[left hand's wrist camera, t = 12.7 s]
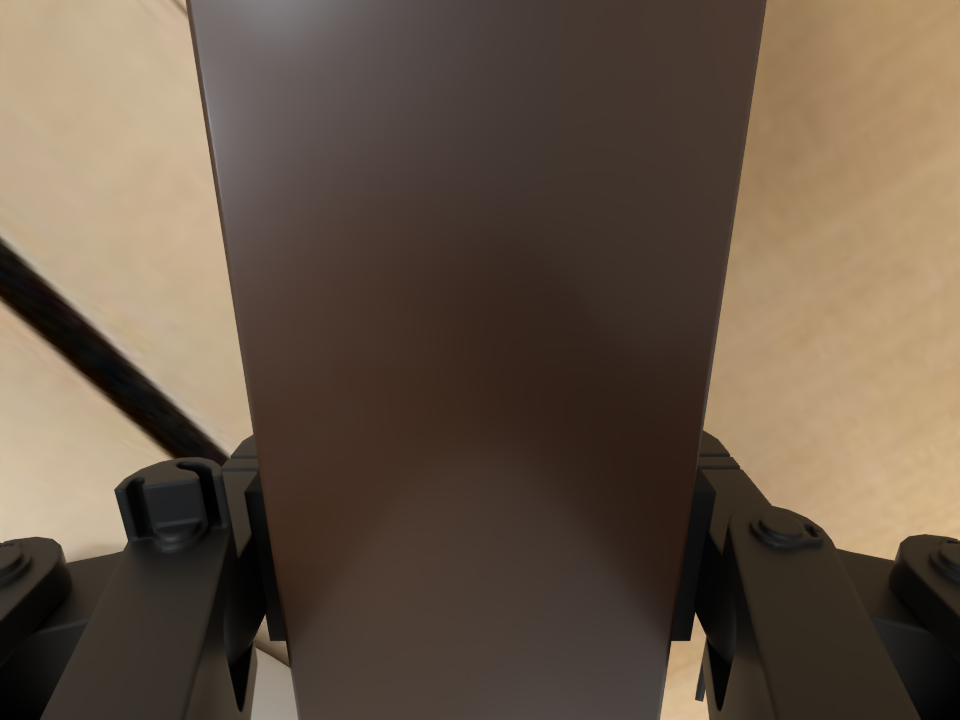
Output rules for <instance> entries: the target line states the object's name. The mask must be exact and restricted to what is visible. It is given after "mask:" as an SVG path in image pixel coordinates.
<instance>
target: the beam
mask: <svg viewBox="0 0 960 720" xmlns="http://www.w3.org/2000/svg"><path fill="white" fill-rule="evenodd" d="M766 1H767V0H186V5H187V12H188V18H189V25H190V31H191V37H192V44H193V50H194V56H195V63H196V69H197V76H198V82H199V88H200V95H201V101H202V108H203V114H204V120H205V127H206V133H207V140H208V146H209V152H210V159H211V165H212V172H213V178H214V184H215V191H216V197H217V203H218V210H219V216H220V223H221V229H222V235H223V242H224V248H225V255H226V261H227V267H228V274H229V280H230V287H231V293H232V299H233V306H234V312H235V319H236V325H237V331H238V338H239V344H240V350H241V357H242V363H243V370H244V376H245V382H246V389H247V395H248V402H249V408H250V414H251V421H252V427H253V434H254V440H255V446H256V453H257V459H258V466H259V472H260V478H261V485H262V491H263V497H264V504H265V510H266V517H267V523H268V529H269V536H270V542H271V549H272V555H273V561H274V568H275V574H276V581H277V587H278V593H279V600H280V606H281V613H282V619H283V625H284V632H285V638H286V644H287V651H288V657H289V664H290V670H291V676H292V683H293V689H294V696H295V702H296V708H297V715H298V720H660V714H661V708H662V701H663V694H664V687H665V681H666V674H667V667H668V661H669V654H670V647H671V640H672V634H673V627H674V620H675V613H676V607H677V600H678V593H679V587H680V580H681V573H682V566H683V560H684V553H685V546H686V539H687V533H688V526H689V519H690V513H691V506H692V499H693V492H694V486H695V479H696V472H697V465H698V459H699V452H700V445H701V438H702V432H703V425H704V418H705V412H706V405H707V398H708V391H709V385H710V378H711V371H712V364H713V358H714V351H715V344H716V338H717V331H718V324H719V317H720V311H721V304H722V297H723V290H724V284H725V277H726V270H727V264H728V257H729V250H730V243H731V237H732V230H733V223H734V216H735V210H736V203H737V196H738V190H739V183H740V176H741V169H742V163H743V156H744V149H745V142H746V136H747V129H748V122H749V116H750V109H751V102H752V95H753V89H754V82H755V75H756V68H757V62H758V55H759V48H760V42H761V35H762V28H763V21H764V15H765V8H766Z"/></svg>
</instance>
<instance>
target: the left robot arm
mask: <svg viewBox="0 0 960 720" xmlns="http://www.w3.org/2000/svg"><path fill="white" fill-rule="evenodd" d="M114 491H115V494H116V498H117V502H118V505H119V509H120V513H121V516H122V520H123V524H124V527H125V531H126V535H127V538H128V543H127V545H126V547H125V549H124V551H122V552H118V553H114V554H110V555H105V556H100V557H95V558H90V559H85V560H80V561H75V562H70V563H66V559H65V556H64V553H63V550H62V547H61V545H59V544H58V543H57V542H56V541H54V540H53V539H49V538H41V537H31V538H23V539H14V540H10V541H5V542H4V543H0V720H251V713H252V705H253V697H254V690H255V682H256V674H257V666H258V660H257V653H256V647H255V642H254V637H255V635H256V633H257V631H258V629H259V627H260V624H261V622H262V620H263V618H264V616H265V614H266V620H267V626H268V631H269V637H270V641H286V638H285V632H284V625H283V619H282V613H281V606H280V600H279V593H278V587H277V581H276V574H275V568H274V561H273V555H272V549H271V542H270V536H269V529H268V523H267V517H266V510H265V504H264V497H263V491H262V485H261V478H260V472H259V466H258V459H257V453H256V446H255V440H254V435H252V436H250V437H249V438H247V439H245V440H244V441H242V443H241V444H240V445H239V446H238V448H237V449H236V450H235V451H234V453H233V454H232V455H231V459H228V460H227V461H226V463H225V464H224V465H223V466H222V468H221V466H220V465H218V464H217V463H216V462H214V461H213V460H209V459H204V458H199V457H195V458H178V459H173V460H168V461H163V462H159V463H157V464H154V465H151V466H148V467H146V468H143V469H141V470H139V471H137V472H135V473H134V474H132V475H130V476H129V477H127V478H125V479H124V480H123V481H122V482H121V483H120V484H119V485H118V486H117V487H116V488H115V489H114ZM695 612H696V614H697V616H698V619H699V621H700V623H701V625H702V627H703V629H704V632H705V634H706V642H705V647H704V652H703V658H702V663H701V668H700V673H699V679H698V684H697V690H696V697H695V700H698V701H702V702H703V699H704V694H705V689H706V696H707V704H708V712H709V720H960V541H959V540H957V539H954V538H950V537H943V536H935V535H927V534H923V535H916V536H909V537H908V538H906V539H905V540H904V541H902V542H901V543H900V546H899V549H898V552H897V555H896V558H895V561H893V560H888V559H883V558H878V557H873V556H868V555H863V554H858V553H853V552H848V551H845V550H841V549H837V548H835V546H834V544H833V542H832V540H831V539H830V537H829V536H828V535H827V534H826V532H825V531H824V530H823V529H822V528H821V527H819V526H818V525H817V524H815V523H814V522H812V521H811V520H809V519H808V518H806V517H804V516H802V515H799V514H797V513H795V512H792V511H790V510H787V509H783V508H779V507H775V506H772V505H771V504H770V503H769V502H768V500H767V499H766V498H765V497H764V495H763V494H762V493H761V492H760V491H759V489H758V488H757V487H756V486H755V484H754V483H753V482H752V481H751V479H750V478H749V477H748V476H747V475H746V473H745V472H744V471H743V470H740V466H739V465H738V463H737V462H736V461H735V460H734V459H733V457H730V454H729V452H728V451H727V450H726V449H725V447H724V446H723V445H722V444H721V442H720V441H719V440H718V439H717V438H715V437H713V436H712V435H710V434H708V433H707V432H705V431H704V430H703V432H702V438H701V445H700V452H699V459H698V465H697V472H696V479H695V486H694V492H693V499H692V506H691V513H690V519H689V526H688V533H687V539H686V546H685V553H684V560H683V566H682V573H681V580H680V587H679V593H678V600H677V607H676V613H675V620H674V627H673V634H672V640H671V641H690V639H691V633H692V628H693V622H694V616H695Z"/></svg>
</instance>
